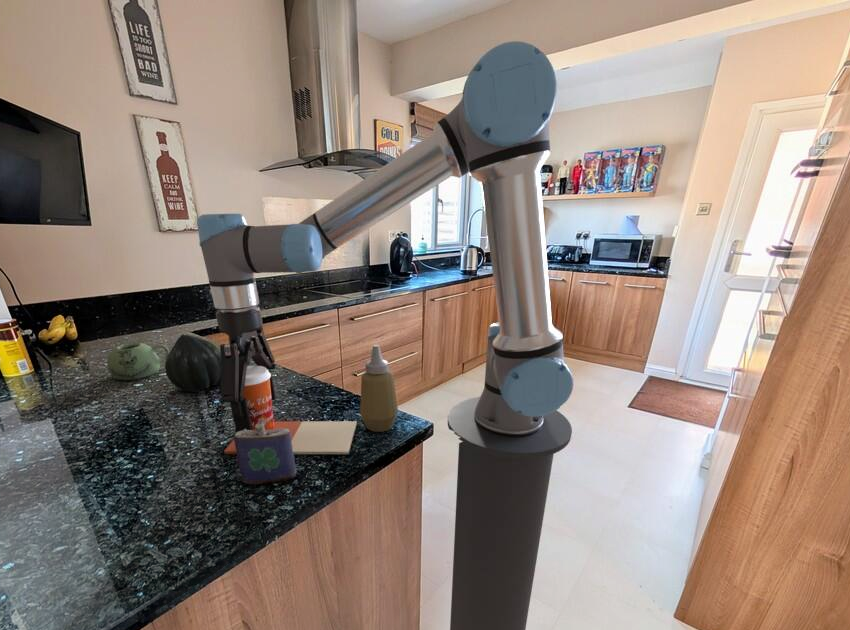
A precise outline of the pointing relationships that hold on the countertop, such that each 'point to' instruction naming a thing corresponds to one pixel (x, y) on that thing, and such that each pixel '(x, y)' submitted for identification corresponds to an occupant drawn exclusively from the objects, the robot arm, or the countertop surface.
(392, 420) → the squeeze bottle
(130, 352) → the mug
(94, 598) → the countertop surface
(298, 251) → the robot arm
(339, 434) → the board
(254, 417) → the paper cup
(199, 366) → the squash
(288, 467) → the flask
